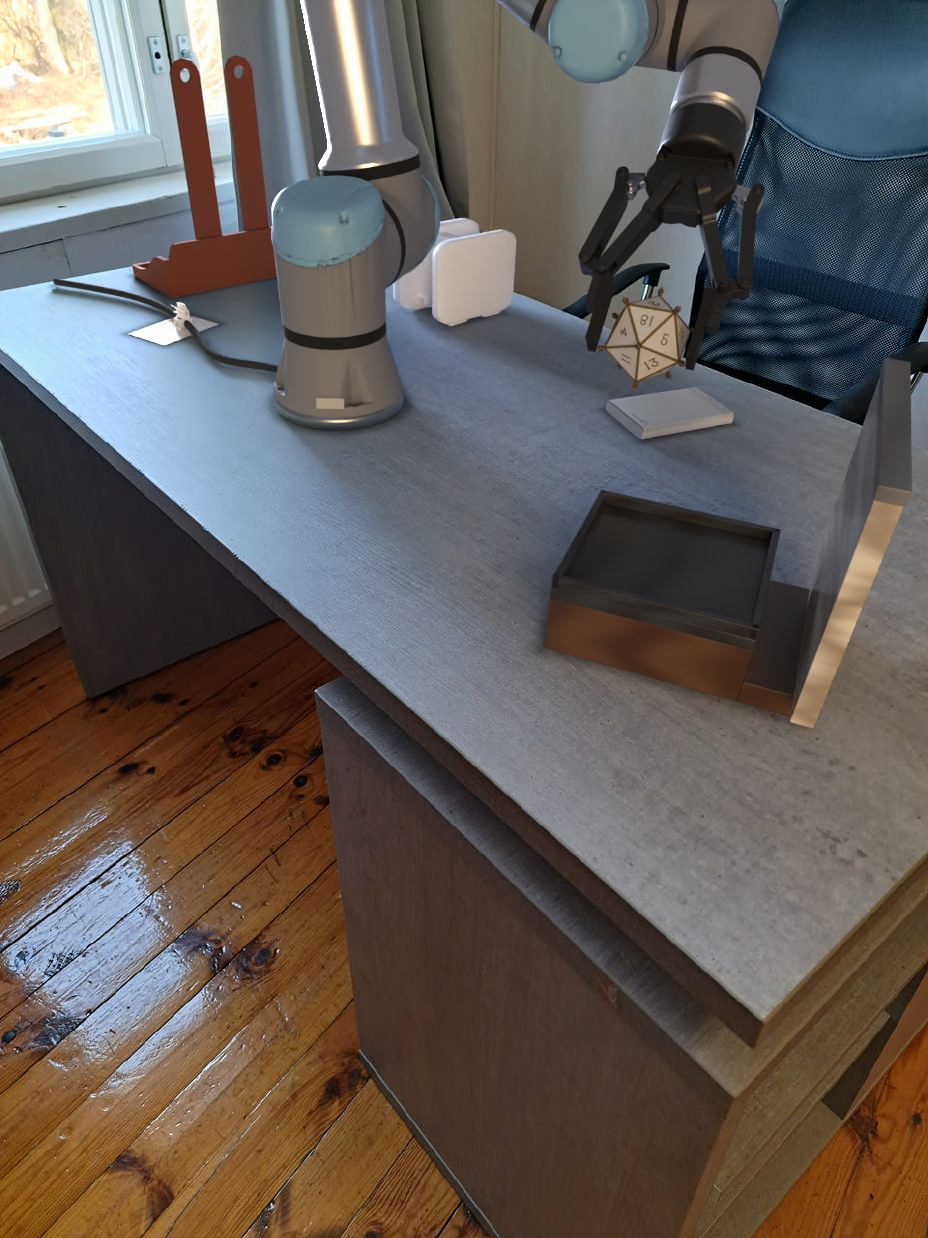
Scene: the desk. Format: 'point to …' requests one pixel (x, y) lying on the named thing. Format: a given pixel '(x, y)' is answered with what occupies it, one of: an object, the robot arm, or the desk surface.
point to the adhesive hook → (173, 327)
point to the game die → (647, 338)
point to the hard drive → (668, 412)
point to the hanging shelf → (211, 252)
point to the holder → (735, 581)
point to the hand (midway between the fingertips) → (639, 353)
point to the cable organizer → (462, 274)
